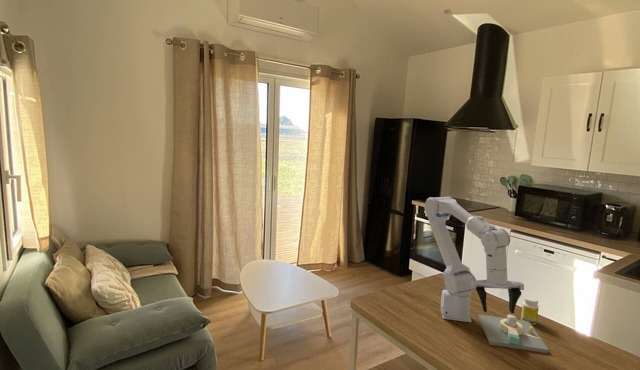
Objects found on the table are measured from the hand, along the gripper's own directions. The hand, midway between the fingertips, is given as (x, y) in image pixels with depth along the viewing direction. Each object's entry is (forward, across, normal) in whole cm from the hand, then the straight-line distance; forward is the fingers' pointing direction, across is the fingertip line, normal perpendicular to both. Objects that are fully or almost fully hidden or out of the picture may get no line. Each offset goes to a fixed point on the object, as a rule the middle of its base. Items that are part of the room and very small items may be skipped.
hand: (498, 311), depth 103 cm
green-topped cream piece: (+8, +4, +3) cm, 10 cm away
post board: (+10, +5, +6) cm, 12 cm away
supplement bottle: (+9, +14, +17) cm, 23 cm away
